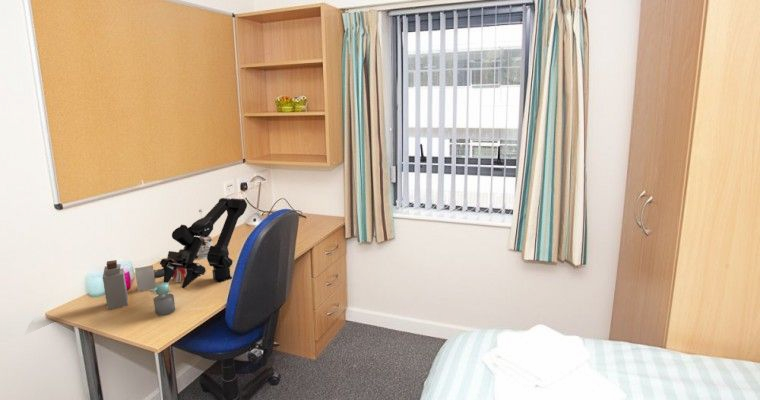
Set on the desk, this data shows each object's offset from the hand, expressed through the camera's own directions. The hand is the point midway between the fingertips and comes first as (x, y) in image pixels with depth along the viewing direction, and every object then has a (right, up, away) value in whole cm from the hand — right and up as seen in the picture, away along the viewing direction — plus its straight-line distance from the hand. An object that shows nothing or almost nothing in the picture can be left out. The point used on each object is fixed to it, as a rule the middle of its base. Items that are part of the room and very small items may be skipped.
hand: (173, 286), depth 173 cm
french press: (-10, +5, +56) cm, 57 cm away
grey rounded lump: (-2, -9, -3) cm, 9 cm away
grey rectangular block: (-20, -4, +18) cm, 27 cm away
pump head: (-2, -3, -5) cm, 7 cm away
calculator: (-20, -1, +35) cm, 40 cm away
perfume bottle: (-23, -8, +3) cm, 25 cm away
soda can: (-9, -2, +26) cm, 28 cm away
